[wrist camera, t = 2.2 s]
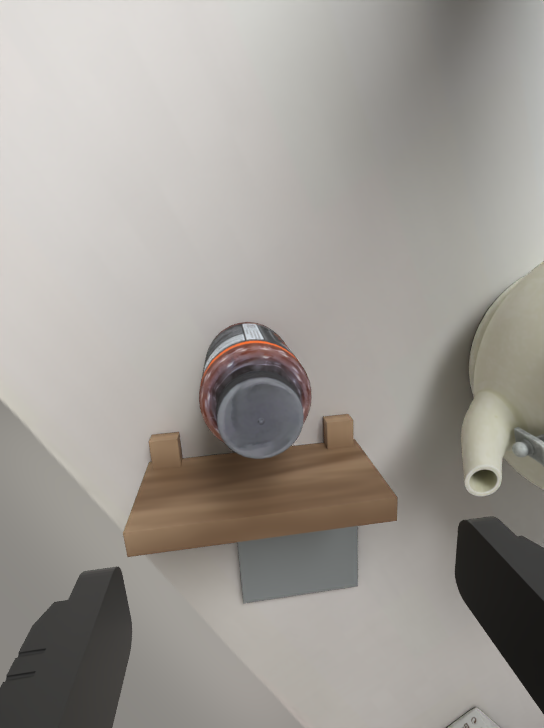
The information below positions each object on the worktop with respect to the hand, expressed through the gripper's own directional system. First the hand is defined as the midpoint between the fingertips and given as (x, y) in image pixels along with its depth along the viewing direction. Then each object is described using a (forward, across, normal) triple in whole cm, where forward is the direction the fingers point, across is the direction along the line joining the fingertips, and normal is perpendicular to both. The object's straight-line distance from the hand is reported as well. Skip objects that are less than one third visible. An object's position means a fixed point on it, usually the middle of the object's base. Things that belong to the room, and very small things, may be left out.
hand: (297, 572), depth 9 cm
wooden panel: (+20, 0, +8) cm, 22 cm away
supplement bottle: (+20, 0, 0) cm, 20 cm away
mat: (+20, -3, +16) cm, 26 cm away
